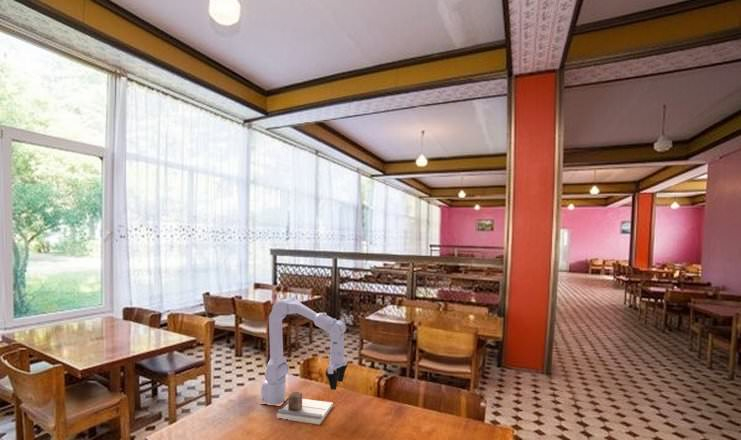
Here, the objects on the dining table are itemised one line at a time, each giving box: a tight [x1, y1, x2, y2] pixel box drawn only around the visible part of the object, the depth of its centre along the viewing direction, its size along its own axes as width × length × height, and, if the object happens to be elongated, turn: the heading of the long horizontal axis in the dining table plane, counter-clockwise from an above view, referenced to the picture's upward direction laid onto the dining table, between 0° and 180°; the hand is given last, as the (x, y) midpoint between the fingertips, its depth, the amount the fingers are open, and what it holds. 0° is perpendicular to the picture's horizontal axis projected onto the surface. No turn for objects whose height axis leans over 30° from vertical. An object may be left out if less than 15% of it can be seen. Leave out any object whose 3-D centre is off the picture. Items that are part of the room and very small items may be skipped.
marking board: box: [276, 398, 334, 425], centre depth 134 cm, size 18×14×2 cm
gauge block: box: [287, 391, 303, 411], centre depth 133 cm, size 4×4×6 cm
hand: (336, 385), depth 137 cm, fingers open, 7 cm apart
